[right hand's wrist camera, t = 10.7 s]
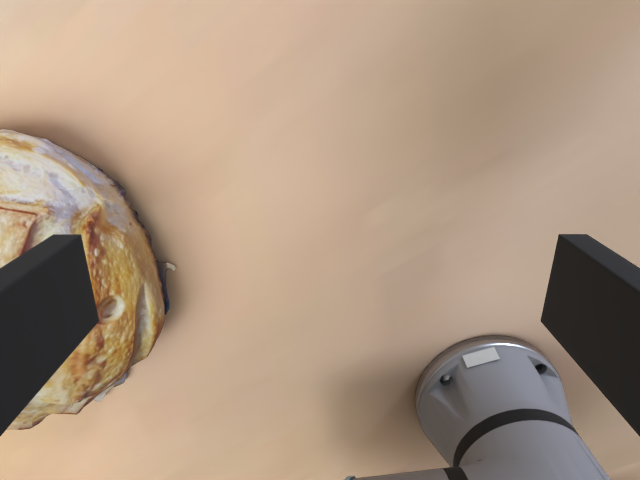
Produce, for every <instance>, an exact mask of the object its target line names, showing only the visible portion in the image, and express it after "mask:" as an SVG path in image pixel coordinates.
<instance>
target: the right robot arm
mask: <svg viewBox="0 0 640 480" xmlns="http://www.w3.org/2000/svg"><path fill="white" fill-rule="evenodd" d="M98 322H99V317H98V312H97V308H96V303H95V298H94V293H93V288H92V284H91V279H90V274H89V269H88V265H87V260H86V255H85V250H84V246H83V241H82V236H81V234H53V235H52V236H50V237H48V238H47V239H45V240H44V241H42V242H41V243H39V244H37V245H36V246H34V247H33V248H31V249H30V250H28V251H26V252H25V253H23V254H22V255H20V256H19V257H17V258H15V259H14V260H12V261H11V262H9V263H8V264H6V265H4V266H3V267H1V268H0V436H1V435H2V434H3V433H4V431H5V430H6V429H7V428H8V427H9V426H10V424H11V423H12V422H13V421H14V420H15V419H16V417H17V416H18V415H19V414H20V413H21V412H22V410H23V409H24V408H25V407H26V406H27V405H28V404H29V402H30V401H31V400H32V399H33V398H34V397H35V395H36V394H37V393H38V392H39V391H40V390H41V388H42V387H43V386H44V385H45V384H46V383H47V381H48V380H49V379H50V378H51V377H52V376H53V374H54V373H55V372H56V371H57V370H58V369H59V367H60V366H61V365H62V364H63V363H64V362H65V360H66V359H67V358H68V357H69V356H70V355H71V353H72V352H73V351H74V350H75V349H76V348H77V346H78V345H79V344H80V343H81V342H82V341H83V339H84V338H85V337H86V336H87V335H88V334H89V333H90V331H91V330H92V329H93V328H94V327H95V326H96V324H97V323H98ZM541 322H542V323H543V324H544V326H545V327H546V328H547V329H548V330H549V331H550V333H551V334H552V335H553V336H554V337H555V338H556V339H557V341H558V342H559V343H560V344H561V345H562V346H563V348H564V349H565V350H566V351H567V352H568V353H569V355H570V356H571V357H572V358H573V359H574V360H575V362H576V363H577V364H578V365H579V366H580V367H581V369H582V370H583V371H584V372H585V373H586V374H587V376H588V377H589V378H590V379H591V380H592V381H593V383H594V384H595V385H596V386H597V387H598V388H599V390H600V391H601V392H602V393H603V394H604V395H605V397H606V398H607V399H608V400H609V401H610V402H611V404H612V405H613V406H614V407H615V408H616V409H617V410H618V412H619V413H620V414H621V415H622V416H623V417H624V419H625V420H626V421H627V422H628V423H629V424H630V426H631V427H632V428H633V429H634V430H635V431H636V433H637V434H638V435H639V436H640V268H639V267H637V266H636V265H634V264H632V263H631V262H629V261H628V260H626V259H625V258H623V257H621V256H620V255H618V254H617V253H615V252H614V251H612V250H610V249H609V248H607V247H606V246H604V245H603V244H601V243H599V242H598V241H596V240H595V239H593V238H592V237H590V236H588V235H587V234H559V236H558V241H557V246H556V250H555V255H554V260H553V265H552V269H551V274H550V279H549V284H548V288H547V293H546V298H545V303H544V308H543V312H542V317H541ZM415 405H416V410H417V414H418V418H419V421H420V425H421V427H422V430H423V431H424V433H425V435H426V436H427V438H428V439H429V440H430V441H431V443H432V444H433V445H434V446H435V448H436V449H437V450H438V452H439V453H440V454H441V455H442V457H443V458H444V459H445V461H446V462H447V463H448V464H449V466H450V468H441V469H432V470H423V471H415V472H406V473H397V474H388V475H380V476H371V477H362V478H355V476H348V477H347V478H346V479H345V480H610V478H609V477H608V475H607V474H606V473H605V471H604V470H603V468H602V467H601V465H600V464H599V463H598V461H597V460H596V458H595V457H594V456H593V454H592V453H591V451H590V450H589V449H588V447H587V446H586V444H585V443H584V441H583V440H582V439H581V437H580V436H579V435H578V433H577V432H576V430H575V429H574V427H573V425H572V421H571V417H570V413H569V409H568V405H567V401H566V397H565V393H564V389H563V385H562V381H561V379H560V376H559V374H558V373H557V371H556V370H555V368H554V367H553V366H552V364H551V363H550V362H549V360H548V359H547V358H546V357H545V355H544V354H543V353H542V352H541V351H539V350H538V349H537V348H535V347H534V346H532V345H531V344H529V343H527V342H524V341H522V340H519V339H516V338H512V337H506V336H484V337H477V338H473V339H469V340H466V341H463V342H461V343H458V344H456V345H454V346H452V347H450V348H448V349H447V350H445V351H444V352H442V353H441V354H440V355H438V356H437V357H436V358H435V359H434V360H433V361H432V362H431V363H430V364H429V365H428V367H427V368H426V369H425V370H424V372H423V374H422V375H421V377H420V379H419V382H418V385H417V388H416V393H415Z"/></svg>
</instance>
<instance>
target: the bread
mask: <svg viewBox="0 0 640 480" xmlns="http://www.w3.org/2000/svg"><path fill="white" fill-rule="evenodd" d="M124 195H125V189H124V188H123V187H121V186H120V184H119V183H118V182H117V181H114V180H112V179H109V178H108V177H107V175H106V174H104V173H103V172H102V170H101V169H99V168H97V167H96V166H94V165H93V164H91V163H89V162H88V161H86V160H85V159H83V158H81V157H79V156H77V155H75V154H73V153H72V152H70V151H68V150H66V149H64V148H62V147H60V146H58V145H55V144H53V143H52V142H50V141H49V140H47V139H45V138H39V137H34V136H30V135H26V134H23V133H20V132H16V131H13V130H7V129H2V130H0V268H1V267H3V266H4V265H6V264H8V263H9V262H11V261H12V260H14V259H15V258H17V257H19V256H20V255H22V254H23V253H25V252H26V251H28V250H30V249H31V248H33V247H34V246H36V245H37V244H39V243H41V242H42V241H44V240H45V239H47V238H48V237H50V236H52V235H53V234H81V236H82V241H83V246H84V250H85V255H86V260H87V265H88V269H89V274H90V279H91V284H92V288H93V293H94V298H95V303H96V308H97V312H98V317H99V322H98V323H97V324H96V326H95V327H94V328H93V329H92V330H91V331H90V333H89V334H88V335H87V336H86V337H85V338H84V339H83V341H82V342H81V343H80V344H79V345H78V346H77V348H76V349H75V350H74V351H73V352H72V353H71V355H70V356H69V357H68V358H67V359H66V360H65V362H64V363H63V364H62V365H61V366H60V367H59V369H58V370H57V371H56V372H55V373H54V374H53V376H52V377H51V378H50V379H49V380H48V381H47V383H46V384H45V385H44V386H43V387H42V388H41V390H40V391H39V392H38V393H37V394H36V395H35V397H34V398H33V399H32V400H31V401H30V402H29V404H28V405H27V406H26V407H25V408H24V409H23V410H22V412H21V413H20V414H19V415H18V416H17V417H16V419H15V420H14V421H13V422H12V423H11V424H10V426H9V427H8V428H7V429H18V430H22V429H30V428H32V427H34V426H35V425H37V424H39V423H40V422H41V421H42V420H43V419H44V418H45V417H46V416H48V415H50V414H78V413H79V412H80V411H81V410H82V409H83V407H85V406H86V405H87V404H88V403H90V402H91V401H92V400H93V399H94V400H95V401H102V399H103V398H104V396H105V394H106V393H107V392H108V391H109V390H110V389H112V388H114V387H116V386H118V385H120V384H122V383H124V382H125V379H126V375H127V374H126V372H127V370H128V369H129V368H130V367H131V366H133V365H134V364H136V363H138V362H139V361H141V360H143V359H144V358H146V357H147V356H148V355H149V353H150V352H151V350H152V348H153V347H154V344H155V342H156V340H157V338H158V336H159V334H160V332H161V329H162V327H163V323H164V315H165V314H166V313H167V312H168V310H169V300H168V296H167V291H166V284H165V275H166V269H167V268H170V269H172V270H173V271H175V269H176V267H175V266H174V265H172V264H170V263H160V262H158V260H157V259H156V258H155V254H154V252H153V250H152V248H151V237H150V235H149V233H148V231H147V230H146V228H145V227H144V225H143V224H142V223H141V222H140V221H139V220H138V214H137V212H136V211H134V210H132V209H131V203H130V202H128V201H127V200H126V199H125V198H124ZM7 429H6V430H7Z"/></svg>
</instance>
